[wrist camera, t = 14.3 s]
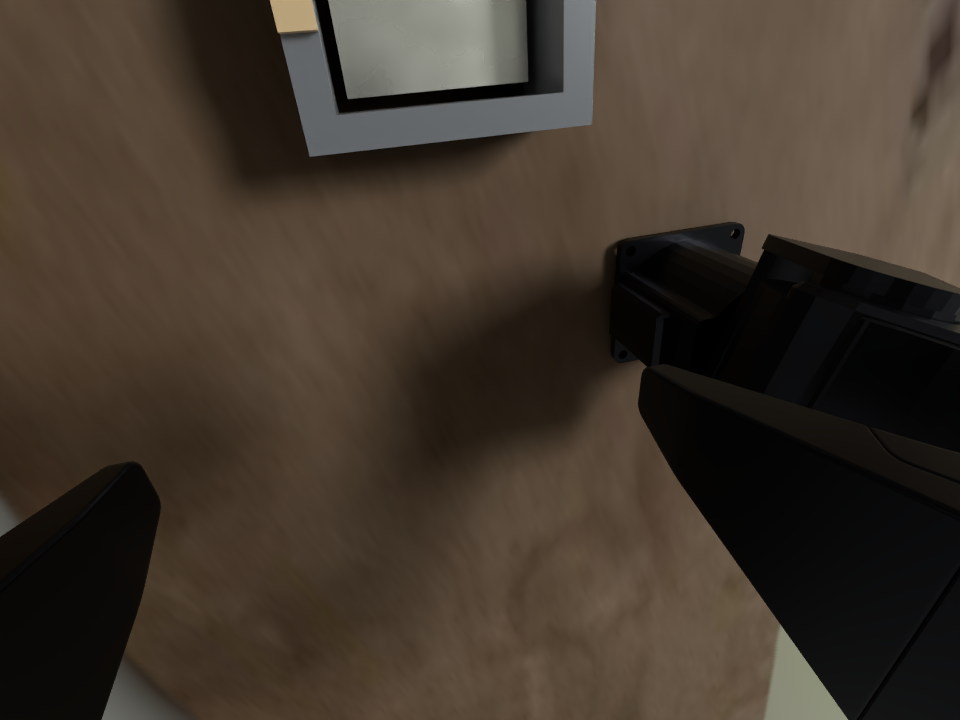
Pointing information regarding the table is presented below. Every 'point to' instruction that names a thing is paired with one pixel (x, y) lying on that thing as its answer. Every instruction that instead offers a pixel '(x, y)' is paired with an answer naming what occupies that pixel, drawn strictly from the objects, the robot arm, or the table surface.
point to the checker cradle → (545, 104)
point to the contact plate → (429, 44)
